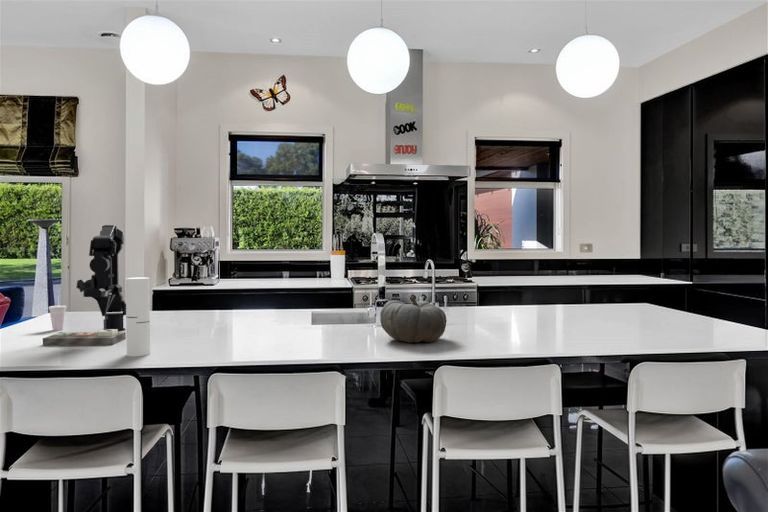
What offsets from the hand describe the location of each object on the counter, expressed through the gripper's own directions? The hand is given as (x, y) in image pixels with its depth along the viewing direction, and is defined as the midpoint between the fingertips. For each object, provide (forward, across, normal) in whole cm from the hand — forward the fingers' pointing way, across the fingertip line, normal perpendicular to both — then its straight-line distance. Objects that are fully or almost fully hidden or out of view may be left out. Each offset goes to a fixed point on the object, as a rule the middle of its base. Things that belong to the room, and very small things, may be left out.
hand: (103, 314), depth 210 cm
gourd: (+10, 0, +114) cm, 114 cm away
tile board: (+10, 0, -7) cm, 12 cm away
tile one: (+11, 0, -7) cm, 13 cm away
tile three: (+10, 0, +1) cm, 10 cm away
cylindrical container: (+10, +22, +21) cm, 32 cm away
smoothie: (+10, -28, -31) cm, 43 cm away
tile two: (+11, 0, -15) cm, 18 cm away
